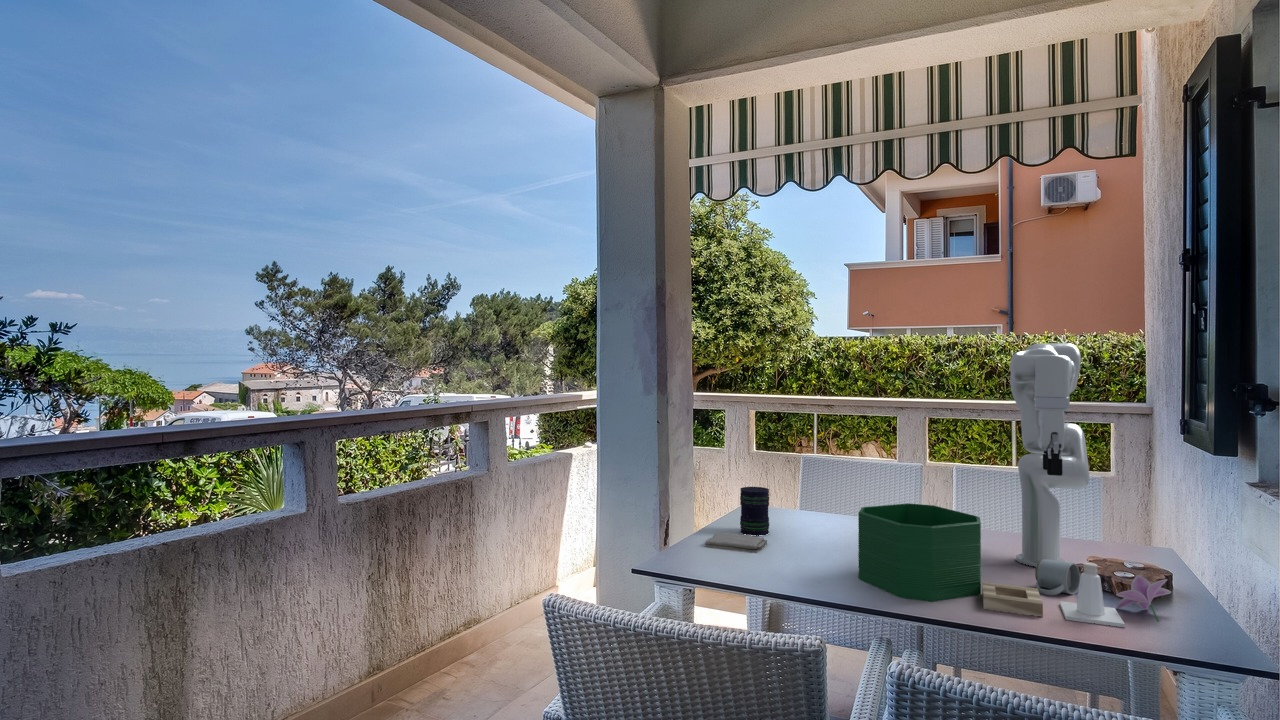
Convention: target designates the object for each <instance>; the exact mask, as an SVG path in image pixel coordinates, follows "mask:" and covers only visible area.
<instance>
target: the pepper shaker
mask: <svg viewBox="0 0 1280 720" xmlns="http://www.w3.org/2000/svg"><path fill="white" fill-rule="evenodd" d="M1082 565H1083V572H1082V573H1080V584H1079V588H1078V591H1077V592H1078V594H1077V600H1076V601H1077V602H1076V603H1077V610H1078V611H1079V612H1080V613H1083V614H1087V615H1091V616H1102V615H1104V614H1105V610H1104V607H1105V604H1104V603H1105V602H1104V595H1103V588H1102V587H1103V586H1102V582H1101V581H1102V580H1101V576H1100V575H1099V574H1098V566H1099V565H1098V564H1096V563H1094V562H1088V561H1087V562H1083V563H1082Z"/></svg>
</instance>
